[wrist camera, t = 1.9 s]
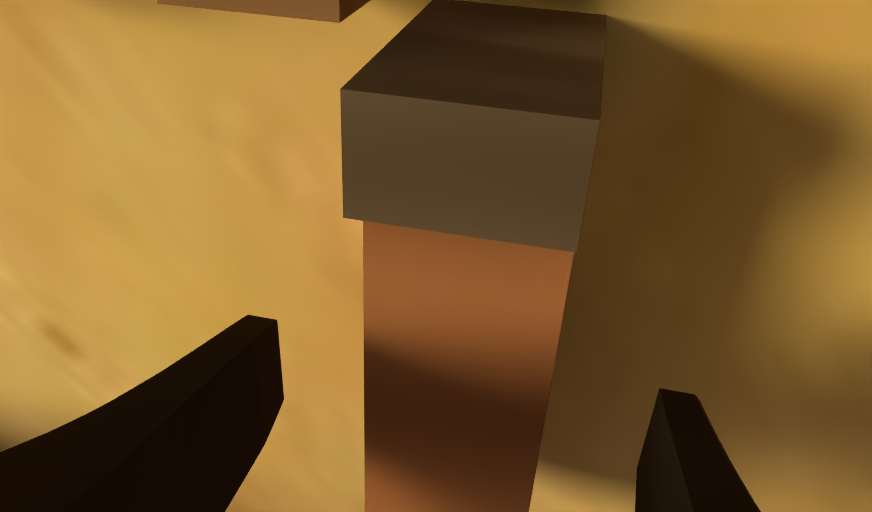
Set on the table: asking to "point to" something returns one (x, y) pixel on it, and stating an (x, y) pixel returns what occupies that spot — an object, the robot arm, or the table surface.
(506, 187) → the brown boxy piece
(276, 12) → the board
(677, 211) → the table surface
